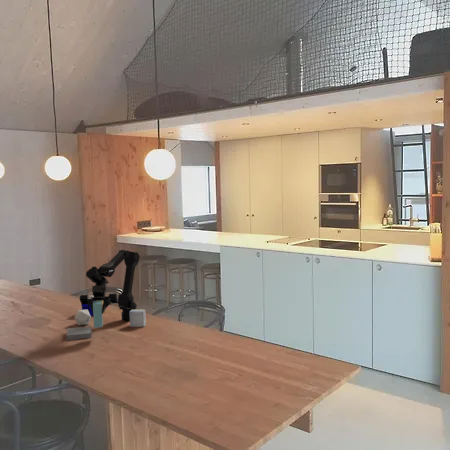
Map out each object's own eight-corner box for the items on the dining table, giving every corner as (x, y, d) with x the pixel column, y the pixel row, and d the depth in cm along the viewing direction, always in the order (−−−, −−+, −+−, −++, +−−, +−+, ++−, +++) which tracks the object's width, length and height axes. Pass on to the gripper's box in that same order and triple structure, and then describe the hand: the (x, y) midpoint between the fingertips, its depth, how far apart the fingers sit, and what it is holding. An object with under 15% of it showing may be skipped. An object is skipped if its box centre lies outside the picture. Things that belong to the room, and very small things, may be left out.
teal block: (102, 323, 252) (101, 300, 250) (102, 327, 246) (101, 303, 245) (94, 324, 251) (93, 301, 250) (94, 327, 245) (92, 304, 244)
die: (84, 328, 269) (94, 312, 272) (70, 321, 269) (79, 304, 272) (86, 329, 277) (95, 313, 280) (72, 322, 277) (81, 306, 280)
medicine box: (146, 324, 271) (145, 309, 270) (144, 327, 267) (143, 311, 266) (132, 324, 272) (131, 309, 271) (129, 327, 268) (129, 311, 267)
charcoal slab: (91, 331, 262) (91, 326, 262) (91, 338, 251) (91, 332, 251) (67, 334, 259) (67, 328, 259) (66, 341, 248) (66, 335, 248)
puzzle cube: (81, 315, 293) (80, 299, 292) (90, 311, 303) (90, 295, 302) (96, 316, 290) (95, 300, 289) (105, 312, 300) (104, 296, 299)
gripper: (79, 279, 249) (75, 306, 239) (116, 277, 251) (113, 304, 241) (83, 291, 258) (79, 317, 248) (119, 289, 259) (117, 315, 249)
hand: (97, 313), depth 246 cm, fingers closed on teal block, 4 cm apart
